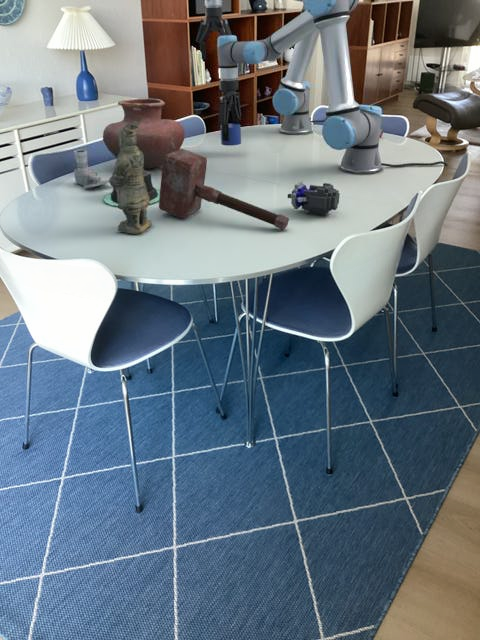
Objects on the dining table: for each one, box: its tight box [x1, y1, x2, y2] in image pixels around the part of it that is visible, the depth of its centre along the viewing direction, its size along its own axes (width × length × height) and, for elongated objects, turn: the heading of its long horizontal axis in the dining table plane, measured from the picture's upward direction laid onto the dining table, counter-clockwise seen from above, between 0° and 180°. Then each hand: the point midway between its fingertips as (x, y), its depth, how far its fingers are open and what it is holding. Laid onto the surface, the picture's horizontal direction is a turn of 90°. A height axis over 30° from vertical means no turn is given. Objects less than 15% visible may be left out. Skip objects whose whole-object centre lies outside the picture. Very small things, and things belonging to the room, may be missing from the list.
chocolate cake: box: [103, 168, 160, 207], centre depth 186 cm, size 15×19×20 cm
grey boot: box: [73, 148, 110, 189], centre depth 197 cm, size 9×12×15 cm
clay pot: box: [102, 98, 186, 169], centre depth 213 cm, size 30×30×25 cm
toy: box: [287, 180, 341, 216], centre depth 168 cm, size 9×9×15 cm
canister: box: [219, 123, 242, 147], centre depth 229 cm, size 8×8×7 cm
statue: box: [108, 121, 153, 235], centre depth 154 cm, size 11×9×30 cm
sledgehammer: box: [158, 148, 290, 231], centre depth 163 cm, size 17×10×40 cm
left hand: (215, 59), depth 256 cm, fingers open, 13 cm apart
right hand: (230, 138), depth 230 cm, fingers closed on canister, 8 cm apart
